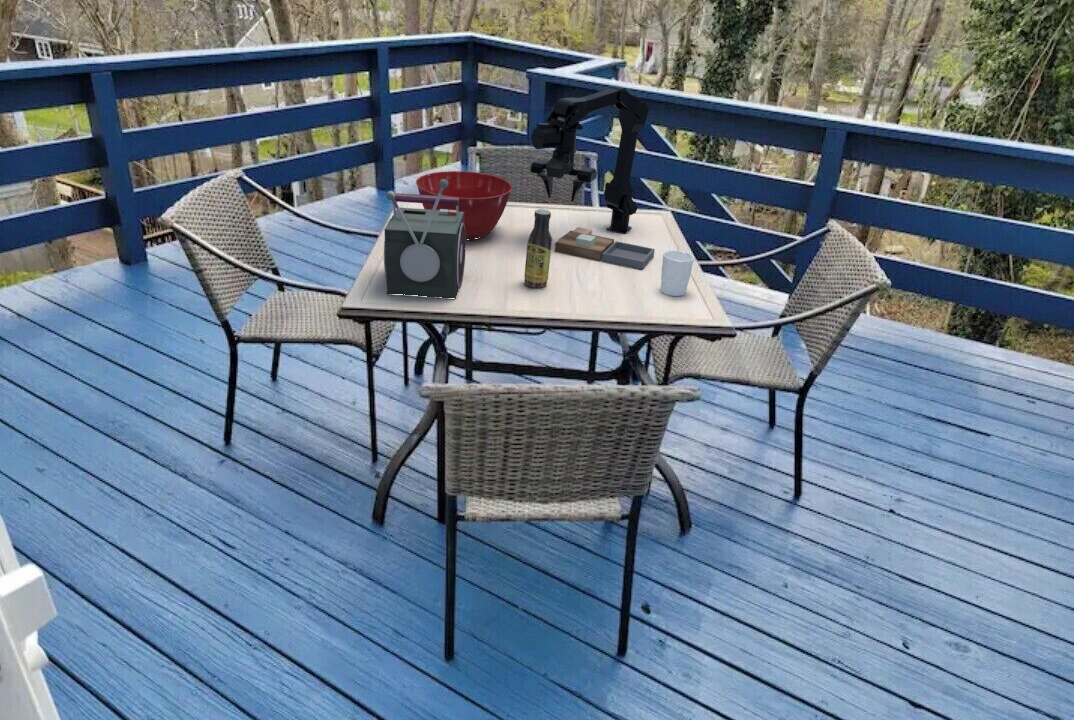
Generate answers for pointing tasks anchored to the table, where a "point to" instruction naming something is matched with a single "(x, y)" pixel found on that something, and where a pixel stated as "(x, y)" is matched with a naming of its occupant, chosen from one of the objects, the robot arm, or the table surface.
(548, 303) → the table surface
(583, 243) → the sage tile
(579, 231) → the terracotta tile
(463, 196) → the mixing bowl
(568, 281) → the table surface
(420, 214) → the boombox
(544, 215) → the sauce bottle
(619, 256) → the tray
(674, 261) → the white cup
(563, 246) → the walnut board
